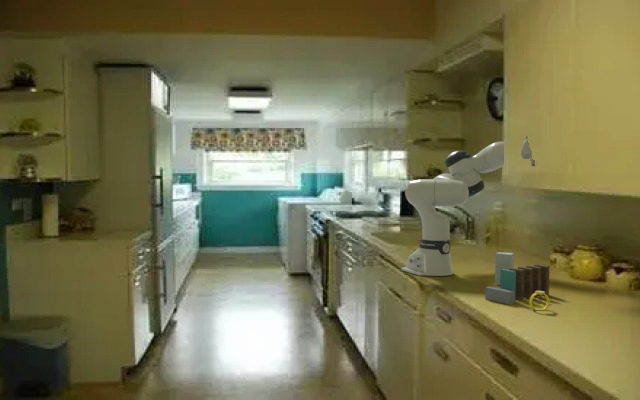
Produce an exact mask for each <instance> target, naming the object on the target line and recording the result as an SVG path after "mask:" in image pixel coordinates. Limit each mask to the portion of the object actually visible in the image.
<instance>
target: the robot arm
mask: <svg viewBox="0 0 640 400" xmlns="http://www.w3.org/2000/svg"><path fill="white" fill-rule="evenodd" d="M526 139H527V140H524V142H523V143H522V146H521V156H522V158H523V159H529V158H530V161H531V163H530V165H531V167H536V166H535V160H533V159H532V155H531V154H532V151H531V149H530V147H529V143H528V136H527V135H526ZM504 142H505V141H495V142H493V143H491V144H489V145H487V146H486V147H484V148H483V149H481V150H480V151H479V152H478V153H476V154H474V155H473V156H472V155H471V154H472V152H468V151H466V150H455V151H452V152H451V153H450V154H449V155H448V156H447V157H446V158H445V161H444V164H445V166H446V168H447V169H448V171H449V173H447V172H446V173H441V174H439V175H437V176H435V177H434V178H432V179H431V178H428V179H427V178H426V179H425V178H422V179H421V178H419V179H415V180H410V181H409V182H408V183H407V185H406V187H405V190H404V195H405V198H406V200H407V202H408V203H409V204H410V205H412V206H413V207H414V208H415V209H416V211H417V212H418V215H419V217H420V220H421V226H422V227H421V229H422V230H421V232H422V233H421V234H422V239H420V240H419V239H418V240H417V244H419V246H418V248H417V249H416V250H415V251H413V253H411V254H410V255H408V257H407V261H406V262H407V265H406V266H403V267H401V271H403V272H406V273H410V274H413V275H417V276H432V277H439V276H440V277H441V276H442V277H443V276H444V277H445V276H451V275H454V272H453V266H452V259H451V258H452V257H451V247H452V246H451V245H452V243H451V239H450V236H451V235H450V232H451V231H450V230H451V223H450V220H449V219H448V218H447V217H446V216H444V215H443V214H441V213H439V212H438V211H437V209H436V207H455V206H456V207H457V206H463V205H464V204H465V203H466V202H467V201H468V199H469V198H471V197H476V196H478V195H480V194H481V193H482V191H484V188H485V187H486V186H485V183H484V180H483V179H482V178H481V175H480V173H481V174H486V173H490V172H494V171H496V170H499V169H501V168H503V164H504Z"/></svg>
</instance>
